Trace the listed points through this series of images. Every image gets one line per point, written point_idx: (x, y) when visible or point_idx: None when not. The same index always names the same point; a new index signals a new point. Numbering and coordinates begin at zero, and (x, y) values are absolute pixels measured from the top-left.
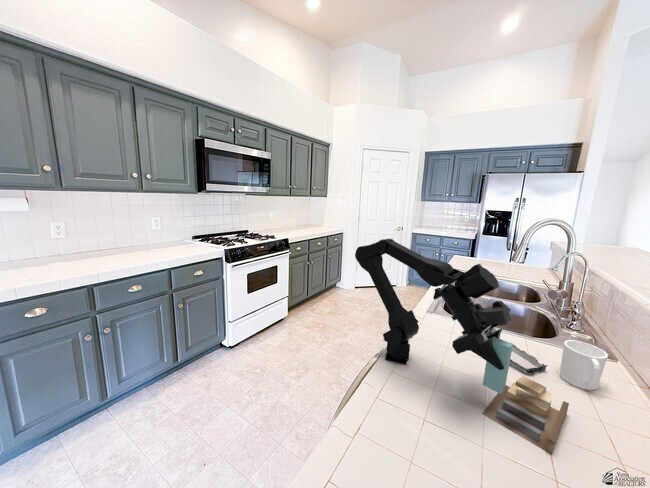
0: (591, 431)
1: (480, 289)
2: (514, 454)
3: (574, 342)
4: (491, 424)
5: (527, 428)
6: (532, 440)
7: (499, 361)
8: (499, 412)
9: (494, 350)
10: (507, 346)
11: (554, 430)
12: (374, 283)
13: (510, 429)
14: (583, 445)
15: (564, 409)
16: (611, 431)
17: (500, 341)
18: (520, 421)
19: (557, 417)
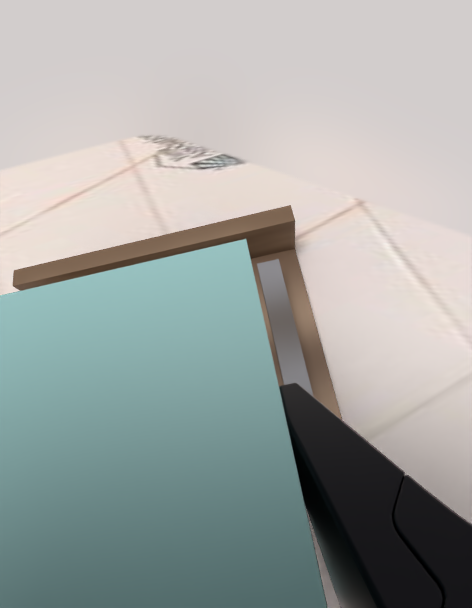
0: (61, 237)
1: None
2: (396, 295)
3: None
4: (348, 410)
5: (286, 295)
6: (290, 286)
7: (325, 420)
8: (313, 396)
9: (364, 545)
10: (243, 287)
11: (229, 229)
12: None
13: (317, 347)
14: (147, 224)
15: (68, 262)
16: (15, 215)
17: (105, 581)
18: (281, 321)
19: (142, 254)
